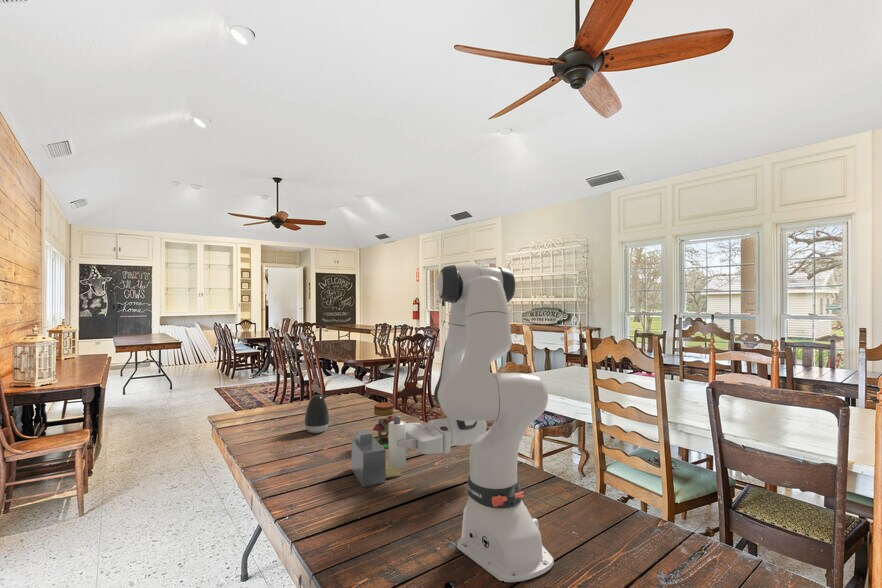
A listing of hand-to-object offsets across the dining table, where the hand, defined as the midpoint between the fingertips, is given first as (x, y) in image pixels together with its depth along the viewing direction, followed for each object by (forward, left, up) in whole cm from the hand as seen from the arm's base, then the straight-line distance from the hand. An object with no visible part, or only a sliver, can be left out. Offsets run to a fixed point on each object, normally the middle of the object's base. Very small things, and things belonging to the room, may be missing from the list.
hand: (394, 440), depth 123 cm
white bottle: (0, -1, -7) cm, 7 cm away
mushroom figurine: (+39, -10, -15) cm, 43 cm away
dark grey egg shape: (+65, +11, -15) cm, 67 cm away
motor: (+14, +1, -15) cm, 21 cm away
